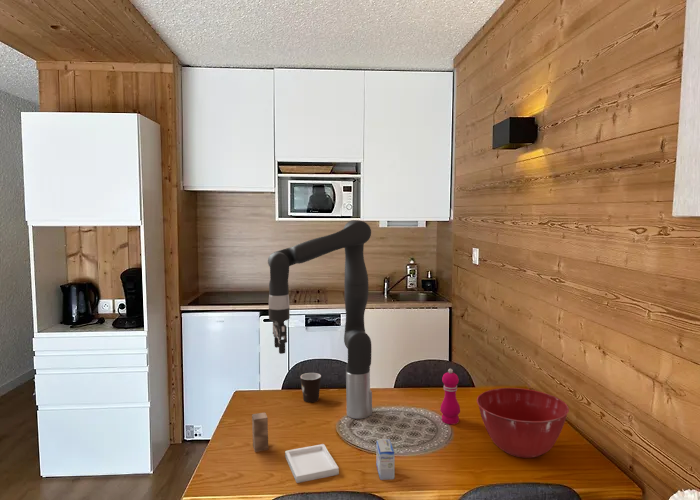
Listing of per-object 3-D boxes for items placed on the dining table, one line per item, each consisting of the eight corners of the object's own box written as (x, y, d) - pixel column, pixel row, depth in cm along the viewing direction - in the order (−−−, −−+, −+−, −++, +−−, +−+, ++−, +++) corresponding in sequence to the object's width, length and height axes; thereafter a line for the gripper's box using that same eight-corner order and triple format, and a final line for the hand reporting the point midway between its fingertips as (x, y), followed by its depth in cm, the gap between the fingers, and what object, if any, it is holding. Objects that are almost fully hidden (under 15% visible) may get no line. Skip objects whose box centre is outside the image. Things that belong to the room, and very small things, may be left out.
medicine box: (376, 466, 149) (375, 439, 148) (390, 465, 149) (390, 438, 148) (379, 480, 141) (379, 452, 140) (394, 479, 141) (394, 451, 141)
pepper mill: (460, 425, 176) (460, 372, 174) (440, 424, 177) (440, 371, 175) (459, 417, 183) (460, 366, 181) (440, 416, 184) (440, 365, 182)
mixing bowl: (459, 437, 167) (459, 394, 166) (524, 422, 177) (525, 382, 176) (515, 479, 141) (516, 428, 139) (588, 459, 151) (589, 411, 150)
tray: (323, 449, 159) (323, 443, 159) (338, 474, 144) (338, 468, 144) (285, 456, 155) (285, 450, 155) (296, 483, 140) (296, 476, 140)
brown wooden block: (266, 443, 164) (265, 412, 163) (268, 449, 160) (267, 417, 159) (252, 445, 163) (251, 414, 162) (254, 452, 159) (253, 419, 158)
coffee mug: (320, 403, 198) (320, 379, 197) (299, 403, 198) (299, 379, 197) (322, 392, 209) (322, 370, 208) (302, 392, 209) (302, 370, 209)
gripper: (293, 309, 170) (294, 354, 171) (285, 302, 183) (285, 344, 184) (272, 311, 167) (273, 356, 169) (265, 303, 181) (266, 346, 182)
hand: (279, 350), depth 176 cm, fingers open, 8 cm apart
